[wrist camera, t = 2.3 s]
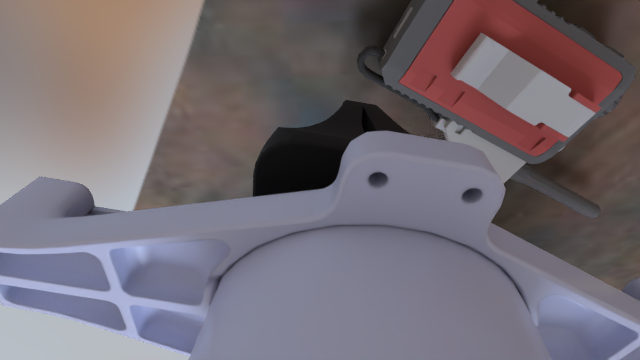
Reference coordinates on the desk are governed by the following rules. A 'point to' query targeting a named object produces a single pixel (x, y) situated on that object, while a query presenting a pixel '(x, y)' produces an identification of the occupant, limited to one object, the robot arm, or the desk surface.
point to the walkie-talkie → (503, 81)
